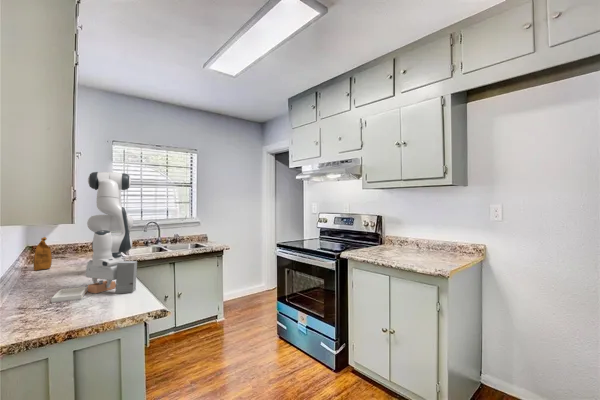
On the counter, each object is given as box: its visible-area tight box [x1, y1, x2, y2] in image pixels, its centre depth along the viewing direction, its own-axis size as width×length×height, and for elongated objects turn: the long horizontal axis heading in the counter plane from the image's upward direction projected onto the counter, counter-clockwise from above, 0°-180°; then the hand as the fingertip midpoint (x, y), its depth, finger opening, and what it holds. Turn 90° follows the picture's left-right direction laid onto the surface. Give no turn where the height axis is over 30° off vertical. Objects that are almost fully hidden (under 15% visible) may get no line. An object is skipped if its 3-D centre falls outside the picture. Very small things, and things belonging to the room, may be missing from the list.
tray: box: [50, 286, 88, 304], centre depth 148 cm, size 16×11×2 cm
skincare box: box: [115, 260, 138, 295], centre depth 157 cm, size 8×7×16 cm
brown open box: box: [87, 280, 116, 294], centre depth 160 cm, size 12×7×4 cm, turn 158°
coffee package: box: [33, 236, 53, 271], centre depth 210 cm, size 10×12×22 cm
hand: (102, 286), depth 159 cm, fingers closed on brown open box, 7 cm apart
